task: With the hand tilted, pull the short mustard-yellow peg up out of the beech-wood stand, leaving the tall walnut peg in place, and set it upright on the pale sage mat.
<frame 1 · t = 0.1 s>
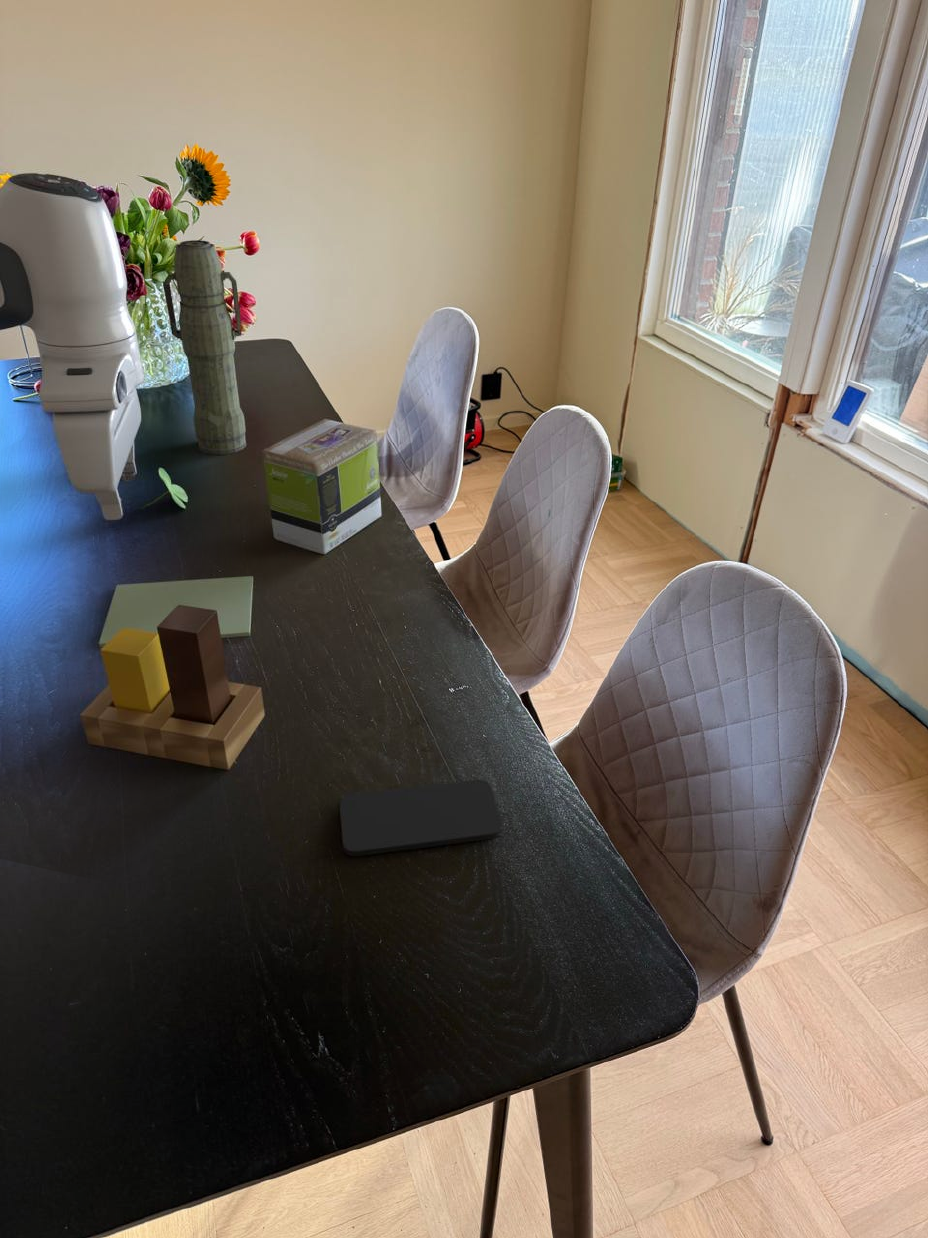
hand: (121, 496, 89), 22 cm above the table, tool pointing down, fingers open, 8 cm apart
thermos: (222, 446, 159), on the table
tea box: (328, 529, 132), on the table
walnut peg: (208, 735, 92), resting in stand
mat: (181, 611, 112), on the table
phone: (419, 820, 82), on the table
seedling: (169, 505, 138), on the table
yellow peg: (149, 724, 93), resting in stand
stand: (178, 729, 92), on the table
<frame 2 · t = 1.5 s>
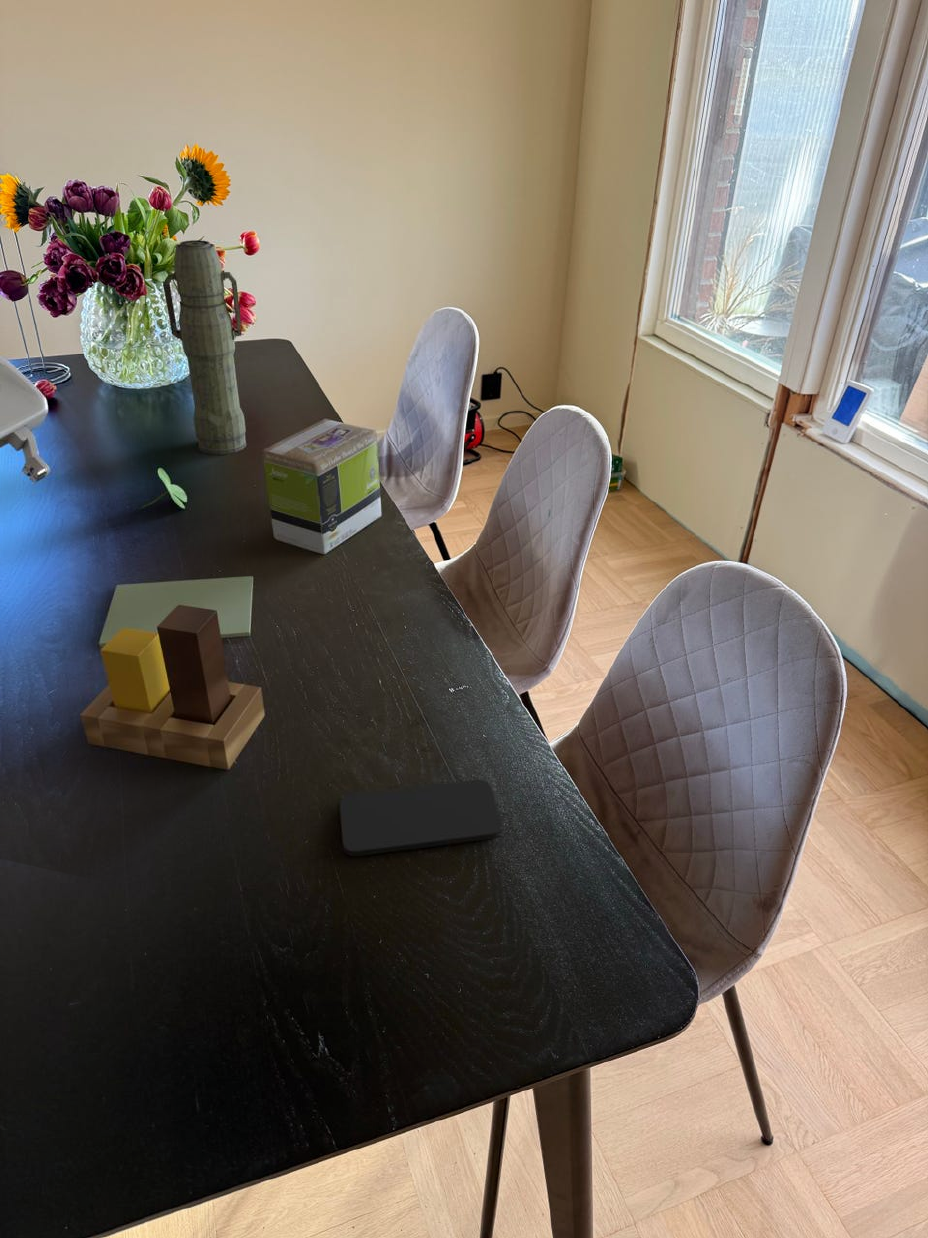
hand: (3, 500, 80), 26 cm above the table, tool tilted 45°, fingers open, 8 cm apart
nothing on the table moved.
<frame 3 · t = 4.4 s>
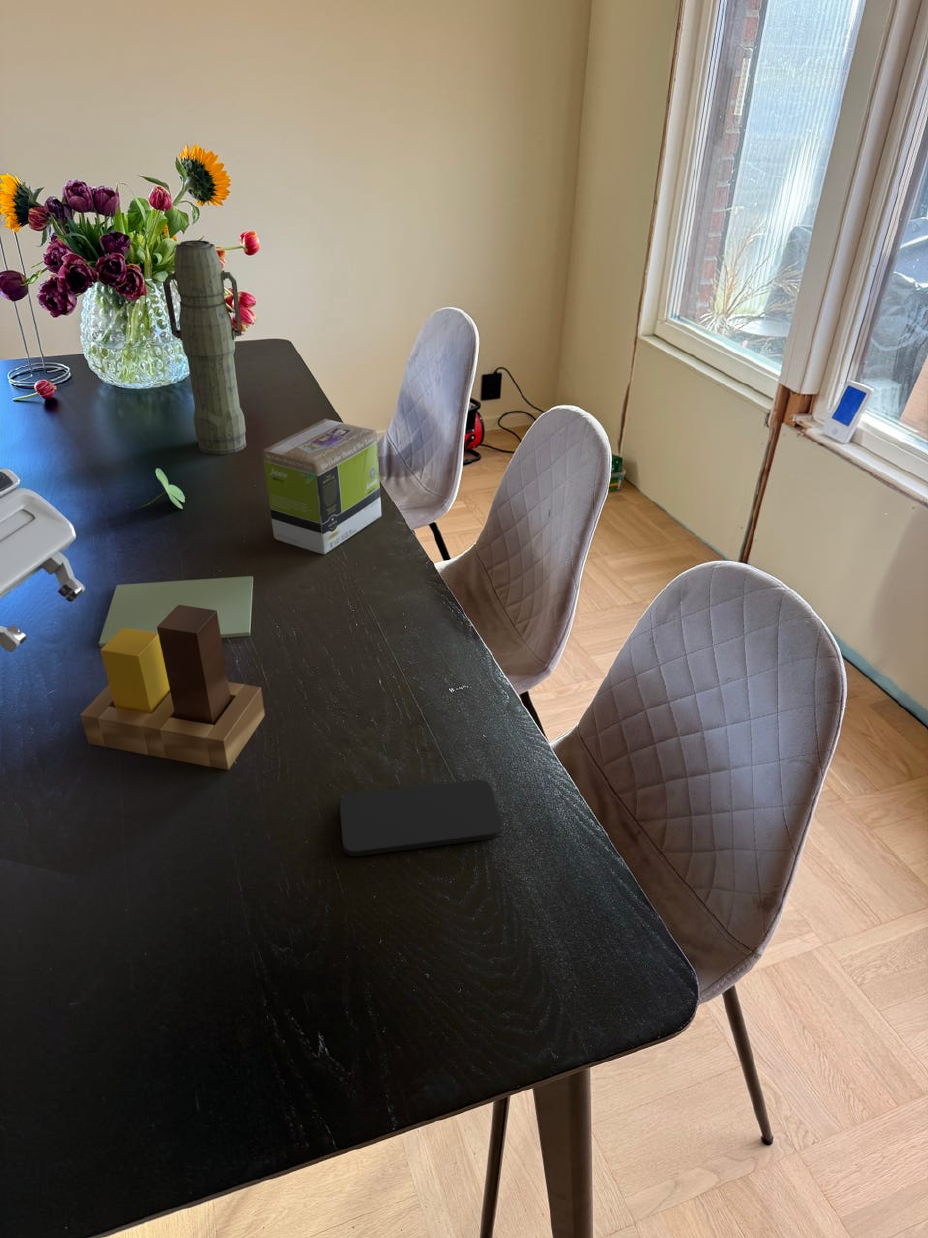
hand: (50, 619, 87), 13 cm above the table, tool tilted 45°, fingers open, 8 cm apart
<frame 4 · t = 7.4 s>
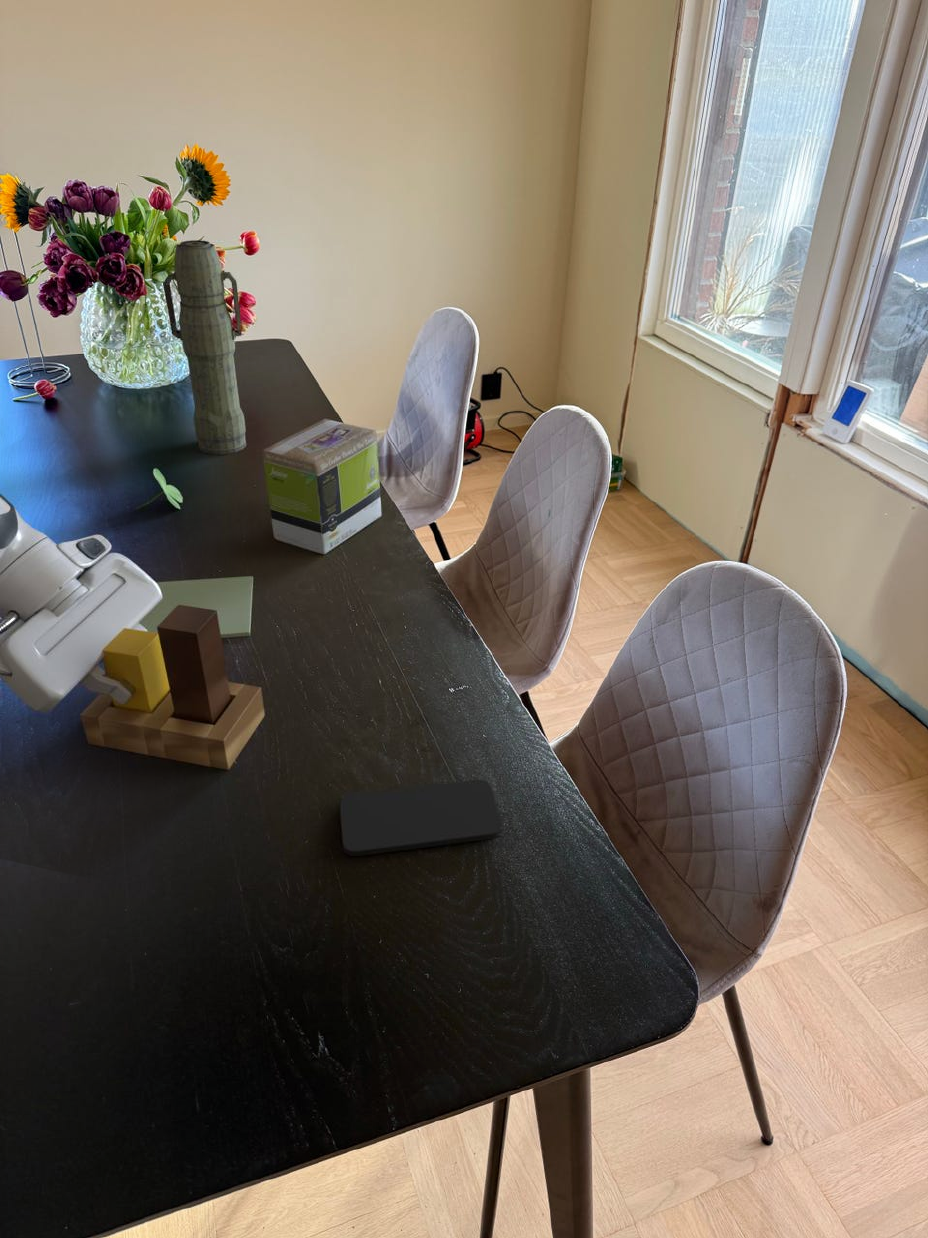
hand: (144, 681, 90), 6 cm above the table, tool tilted 45°, fingers closed on yellow peg, 4 cm apart
yellow peg: (149, 724, 93), resting in stand, touching gripper
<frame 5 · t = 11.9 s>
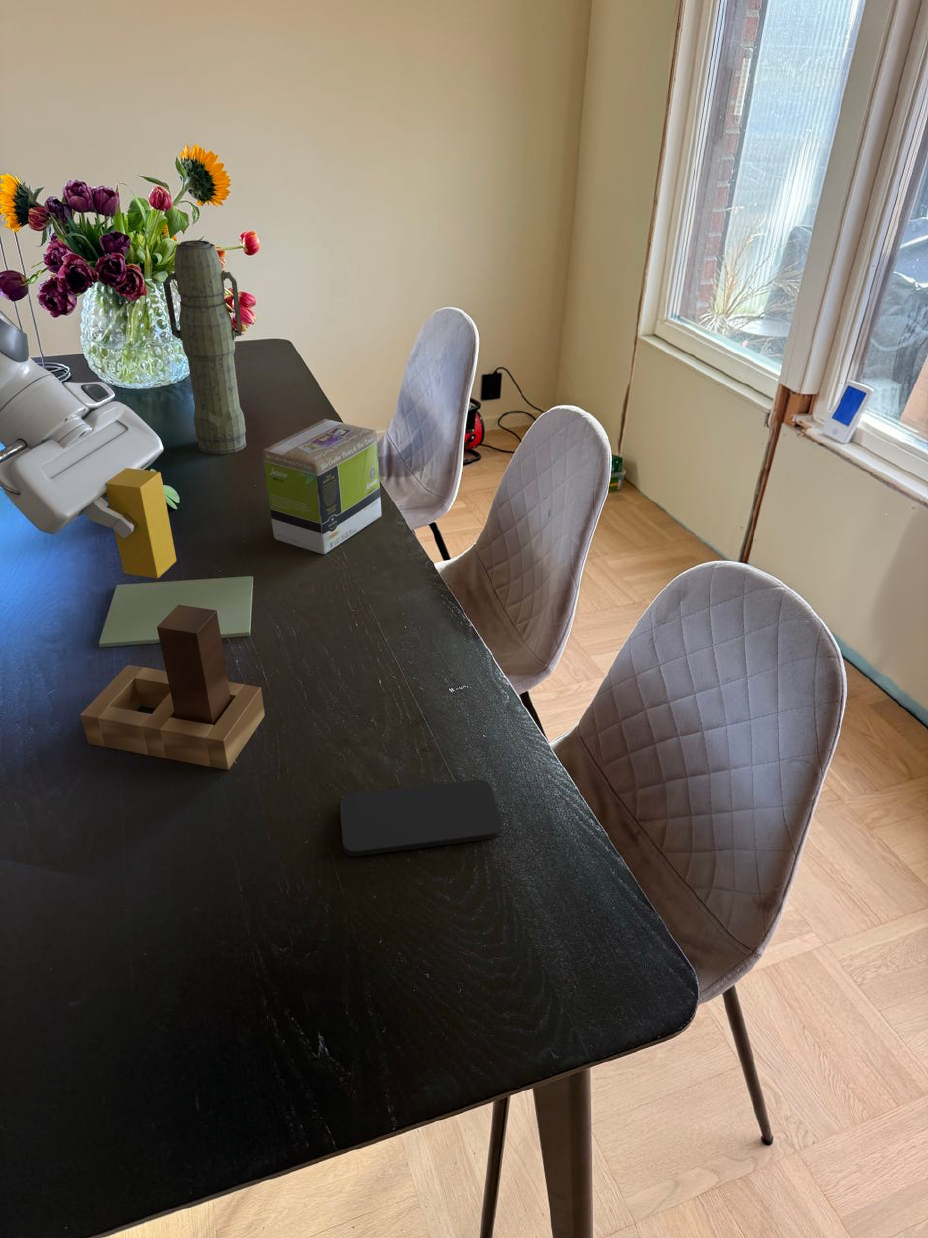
hand: (146, 520, 93), 18 cm above the table, tool tilted 45°, fingers closed on yellow peg, 4 cm apart
yellow peg: (150, 567, 97), point 12 cm above the table, touching gripper
when the fingers open (6 cm above the table, at t = 16.8 s): yellow peg stays where it is, resting on mat.
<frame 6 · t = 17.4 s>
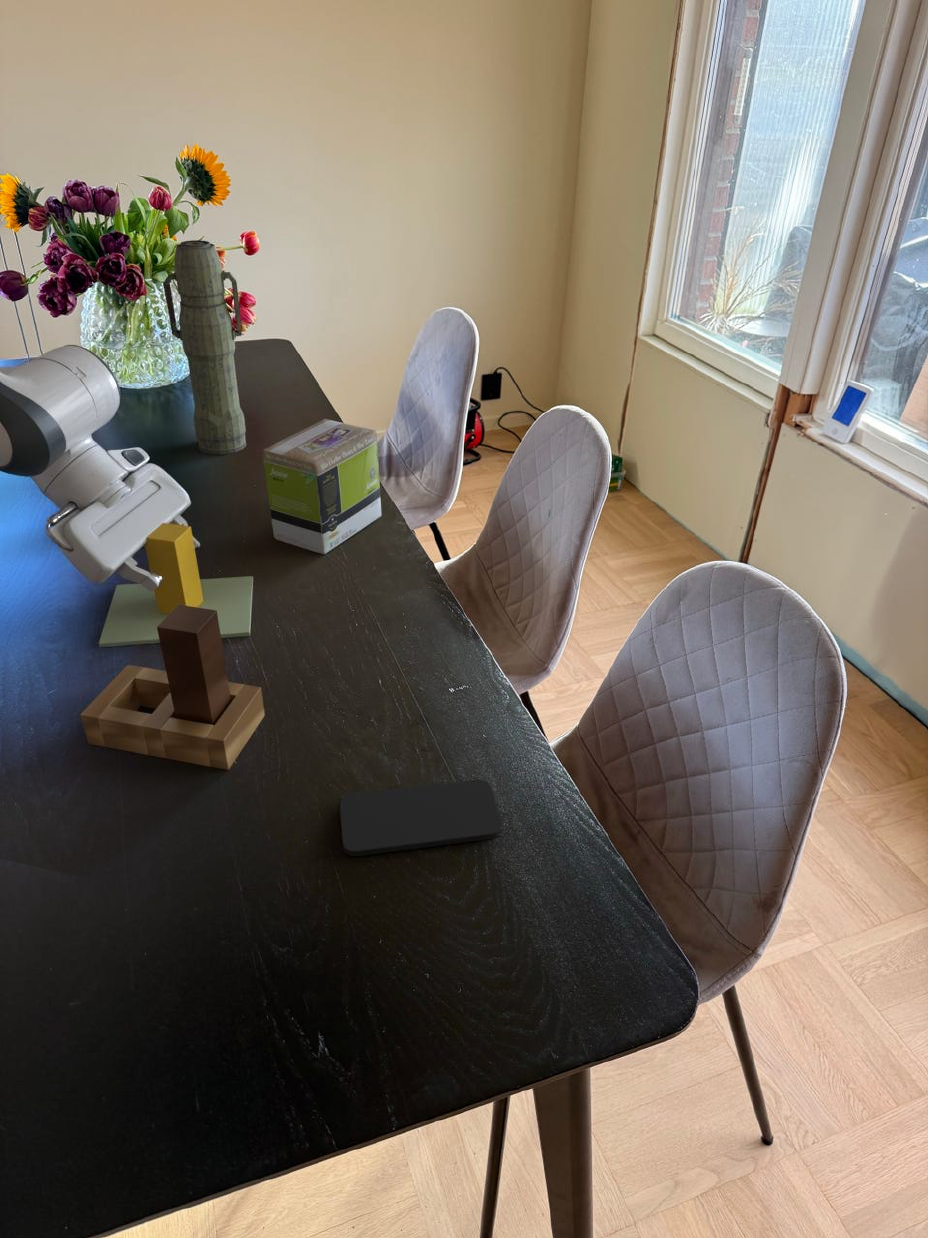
hand: (177, 568, 108), 7 cm above the table, tool tilted 45°, fingers open, 8 cm apart
yellow peg: (181, 606, 112), point 1 cm above the table, touching mat
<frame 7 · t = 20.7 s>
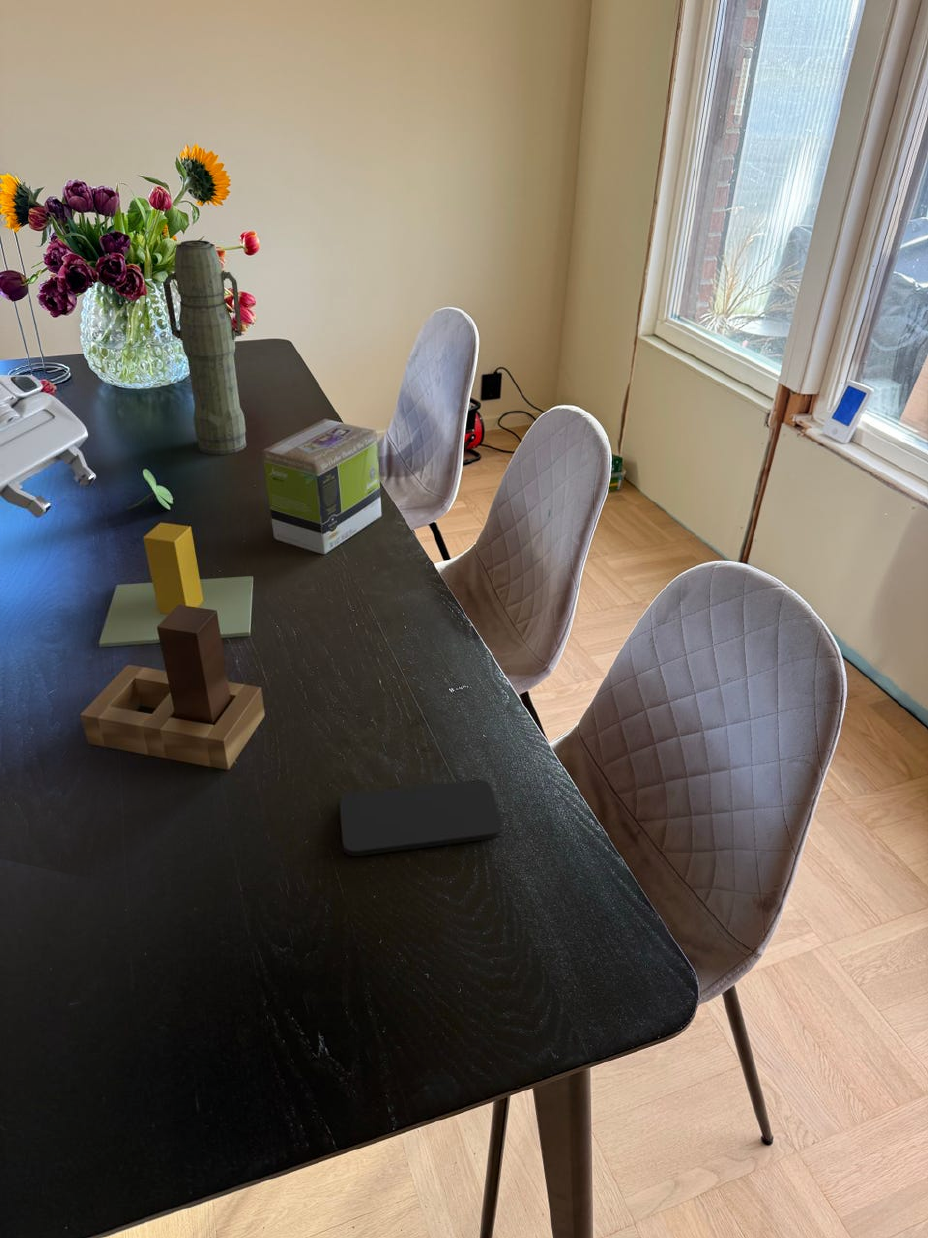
hand: (68, 496, 106), 15 cm above the table, tool tilted 45°, fingers open, 8 cm apart
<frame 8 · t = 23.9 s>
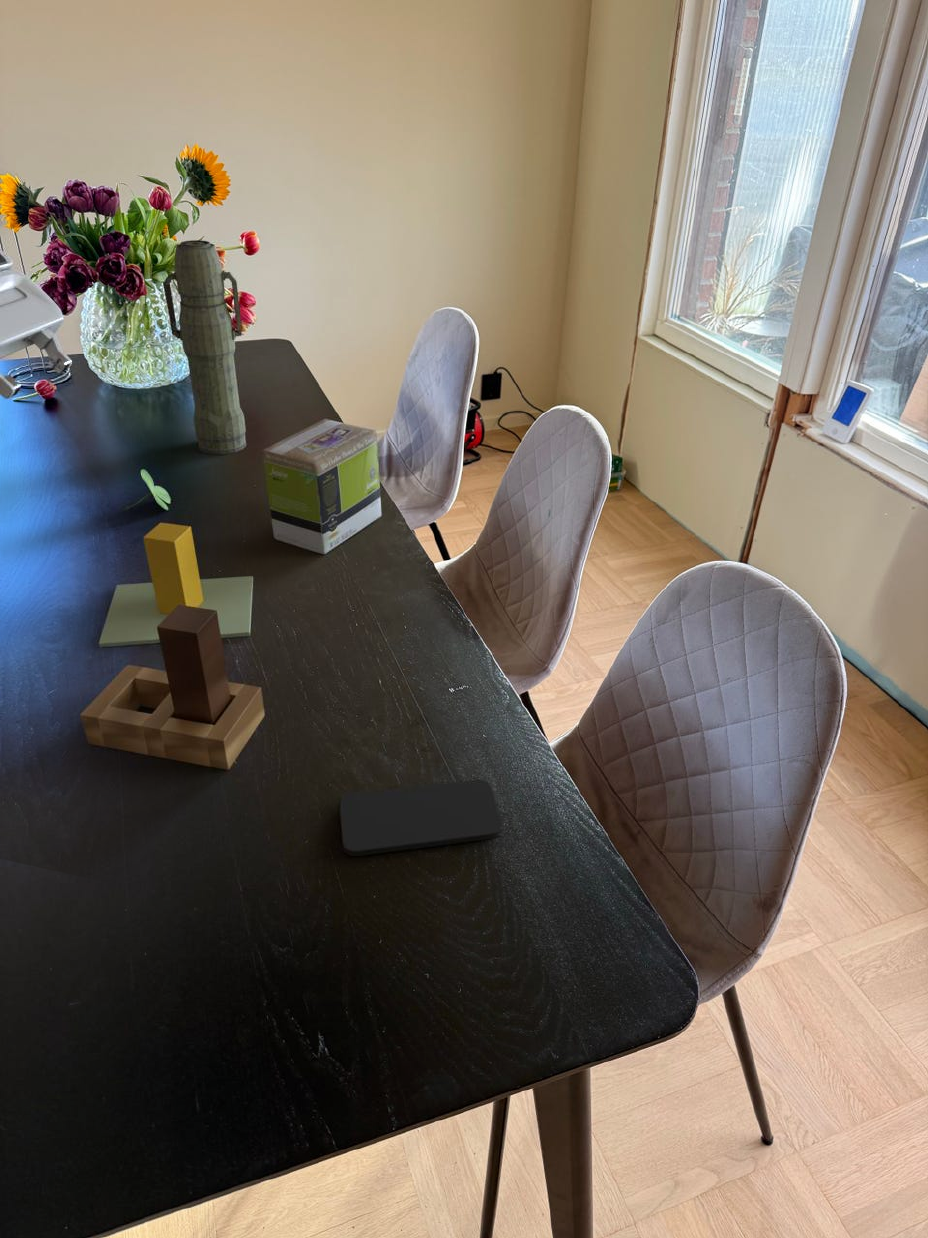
hand: (41, 380, 98), 29 cm above the table, tool tilted 45°, fingers open, 8 cm apart
at the end: yellow peg inside the target area on the mat (0.2 cm from its centre), point 0.6 cm above the mat's base; yellow peg tilted 0°; walnut peg moved 0.0 cm from its start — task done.
